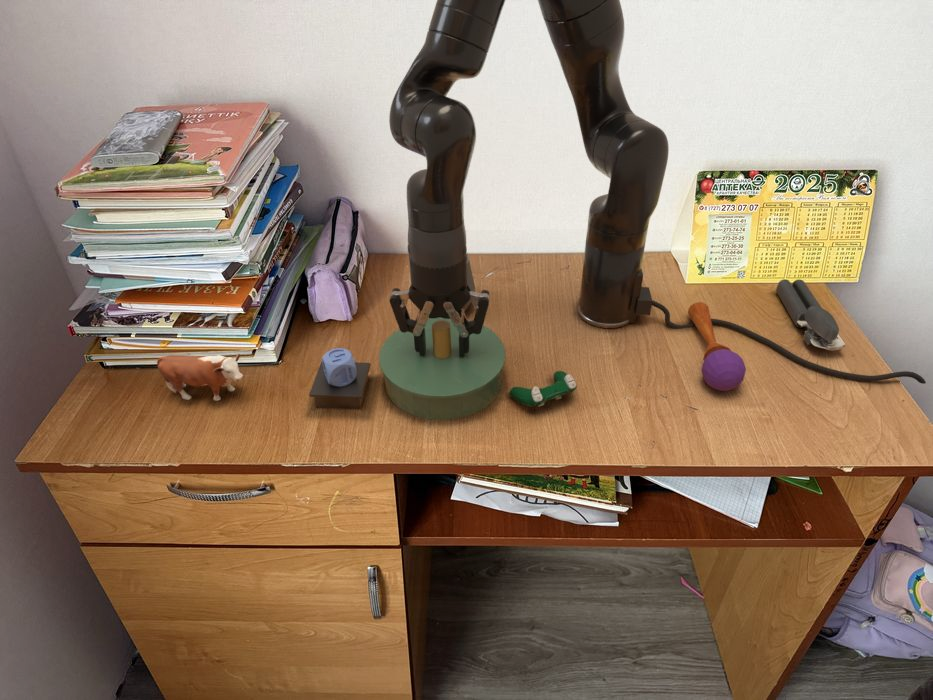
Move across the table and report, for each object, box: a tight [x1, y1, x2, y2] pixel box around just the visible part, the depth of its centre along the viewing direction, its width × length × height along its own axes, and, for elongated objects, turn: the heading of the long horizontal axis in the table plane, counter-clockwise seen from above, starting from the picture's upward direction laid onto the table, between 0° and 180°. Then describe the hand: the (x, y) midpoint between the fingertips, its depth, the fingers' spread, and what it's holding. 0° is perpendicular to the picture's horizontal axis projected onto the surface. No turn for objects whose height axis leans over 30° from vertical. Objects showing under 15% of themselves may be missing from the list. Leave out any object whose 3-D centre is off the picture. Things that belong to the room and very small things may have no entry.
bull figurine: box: [156, 353, 245, 402], centre depth 97 cm, size 4×13×8 cm, turn 78°
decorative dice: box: [321, 347, 357, 387], centre depth 96 cm, size 4×4×4 cm
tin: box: [383, 368, 504, 421], centre depth 100 cm, size 18×18×5 cm
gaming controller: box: [508, 370, 578, 408], centre depth 97 cm, size 9×4×6 cm
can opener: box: [775, 278, 846, 351], centre depth 109 cm, size 19×5×6 cm, turn 178°
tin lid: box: [378, 317, 506, 399], centre depth 97 cm, size 18×18×6 cm
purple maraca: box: [687, 301, 747, 392], centre depth 104 cm, size 6×6×20 cm
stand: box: [309, 361, 371, 410], centre depth 98 cm, size 8×8×4 cm
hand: (442, 352), depth 98 cm, fingers open, 5 cm apart
